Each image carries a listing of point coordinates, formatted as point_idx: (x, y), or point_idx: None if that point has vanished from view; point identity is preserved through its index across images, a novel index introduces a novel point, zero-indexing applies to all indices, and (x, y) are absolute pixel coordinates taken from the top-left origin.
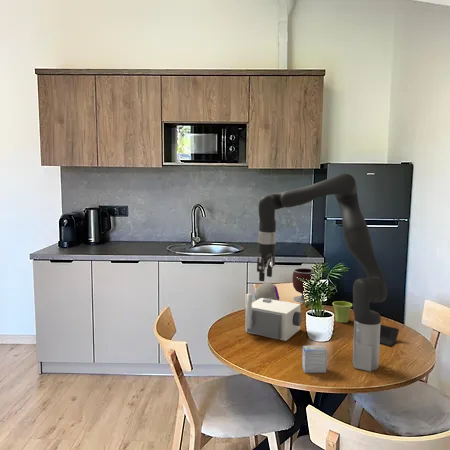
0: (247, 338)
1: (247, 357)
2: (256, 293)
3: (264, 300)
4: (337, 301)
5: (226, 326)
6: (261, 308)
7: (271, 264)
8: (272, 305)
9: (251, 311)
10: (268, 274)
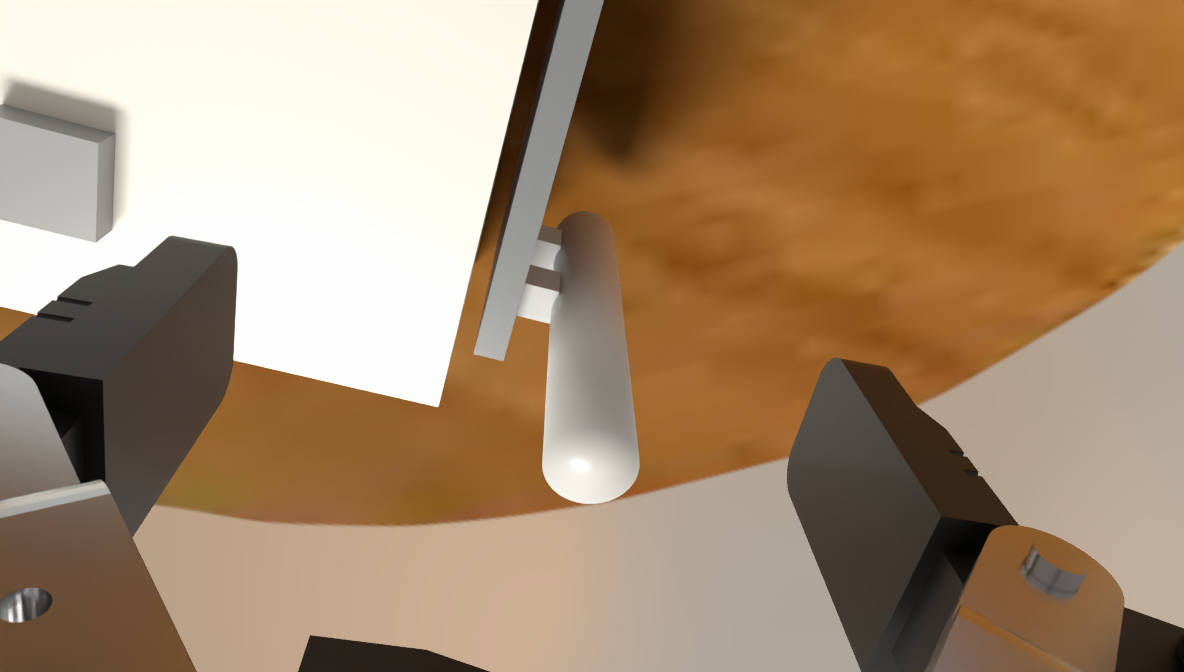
0: (636, 206)
1: (1098, 110)
2: None
3: (100, 211)
4: None
5: (391, 446)
6: (461, 186)
7: (123, 546)
8: (235, 43)
9: (594, 293)
10: (204, 368)
